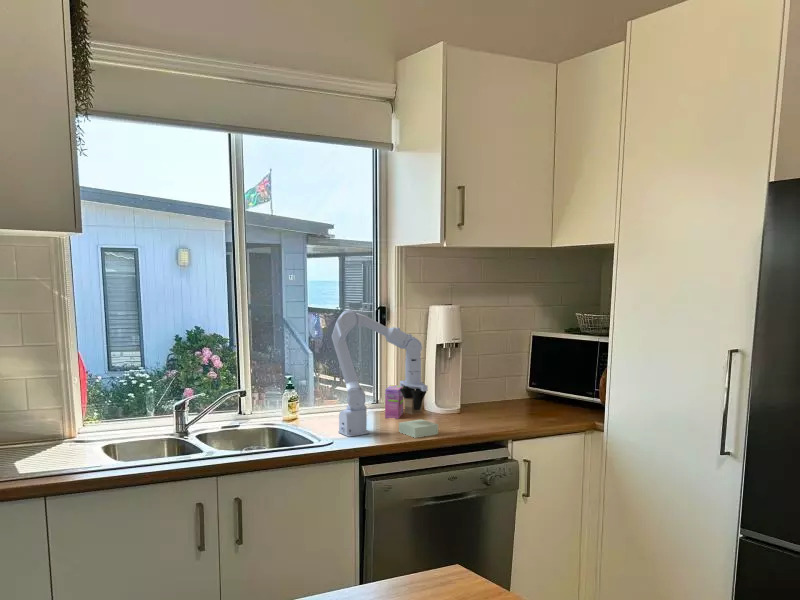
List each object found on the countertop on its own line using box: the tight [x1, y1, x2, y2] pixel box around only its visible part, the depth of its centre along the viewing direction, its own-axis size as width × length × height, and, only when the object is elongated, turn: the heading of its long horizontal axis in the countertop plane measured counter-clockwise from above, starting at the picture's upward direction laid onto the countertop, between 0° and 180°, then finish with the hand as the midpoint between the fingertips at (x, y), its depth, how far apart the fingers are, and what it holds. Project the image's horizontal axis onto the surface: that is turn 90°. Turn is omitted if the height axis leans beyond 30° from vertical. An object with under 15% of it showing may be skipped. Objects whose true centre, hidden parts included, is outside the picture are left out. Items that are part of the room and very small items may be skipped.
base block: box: [398, 419, 439, 439], centre depth 214 cm, size 10×10×4 cm
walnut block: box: [404, 398, 423, 415], centre depth 216 cm, size 4×4×5 cm
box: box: [384, 384, 404, 420], centre depth 243 cm, size 10×6×12 cm, turn 168°
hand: (413, 408), depth 216 cm, fingers closed on walnut block, 4 cm apart
